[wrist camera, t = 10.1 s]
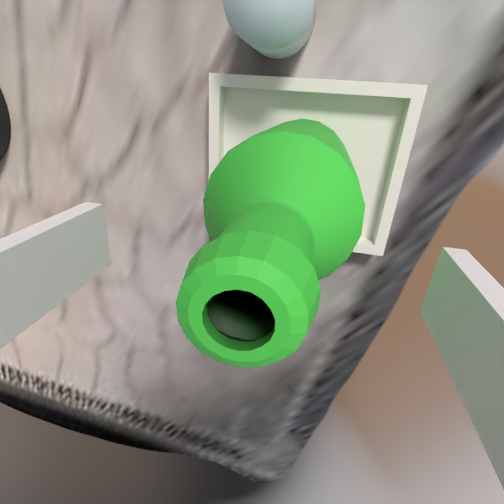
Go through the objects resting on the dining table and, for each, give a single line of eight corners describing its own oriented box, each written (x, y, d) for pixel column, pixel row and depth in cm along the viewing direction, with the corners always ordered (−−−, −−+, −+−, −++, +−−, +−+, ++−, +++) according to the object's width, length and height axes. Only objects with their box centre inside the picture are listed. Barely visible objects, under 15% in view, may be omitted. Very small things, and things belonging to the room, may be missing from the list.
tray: (215, 224, 37) (208, 231, 35) (217, 74, 30) (208, 72, 28) (379, 246, 34) (382, 256, 32) (420, 86, 27) (428, 84, 25)
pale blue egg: (243, 57, 29) (221, 45, 23) (247, -27, 27) (223, -66, 20) (310, 60, 28) (305, 48, 22) (320, -26, 26) (318, -68, 19)
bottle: (282, 223, 34) (200, 448, 12) (240, 149, 32) (41, 256, 10) (363, 184, 31) (456, 394, 9) (322, 98, 28) (307, 81, 6)
